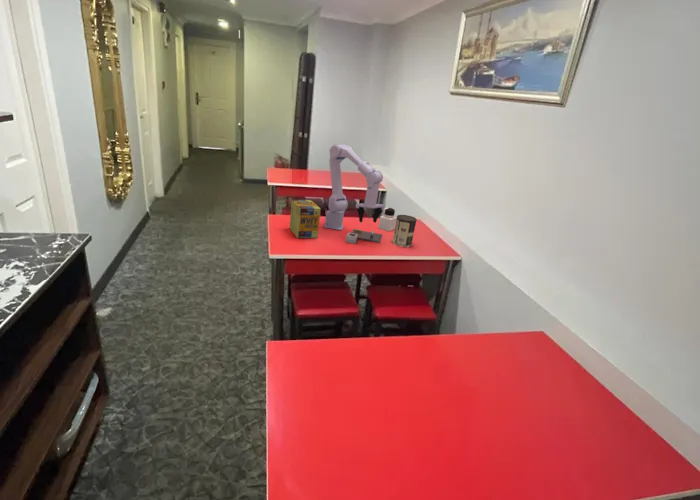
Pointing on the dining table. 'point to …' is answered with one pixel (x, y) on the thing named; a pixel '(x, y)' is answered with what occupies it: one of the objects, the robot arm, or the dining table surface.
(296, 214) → the protein box
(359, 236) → the shaft block
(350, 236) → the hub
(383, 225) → the medicine bottle
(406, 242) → the coffee can
